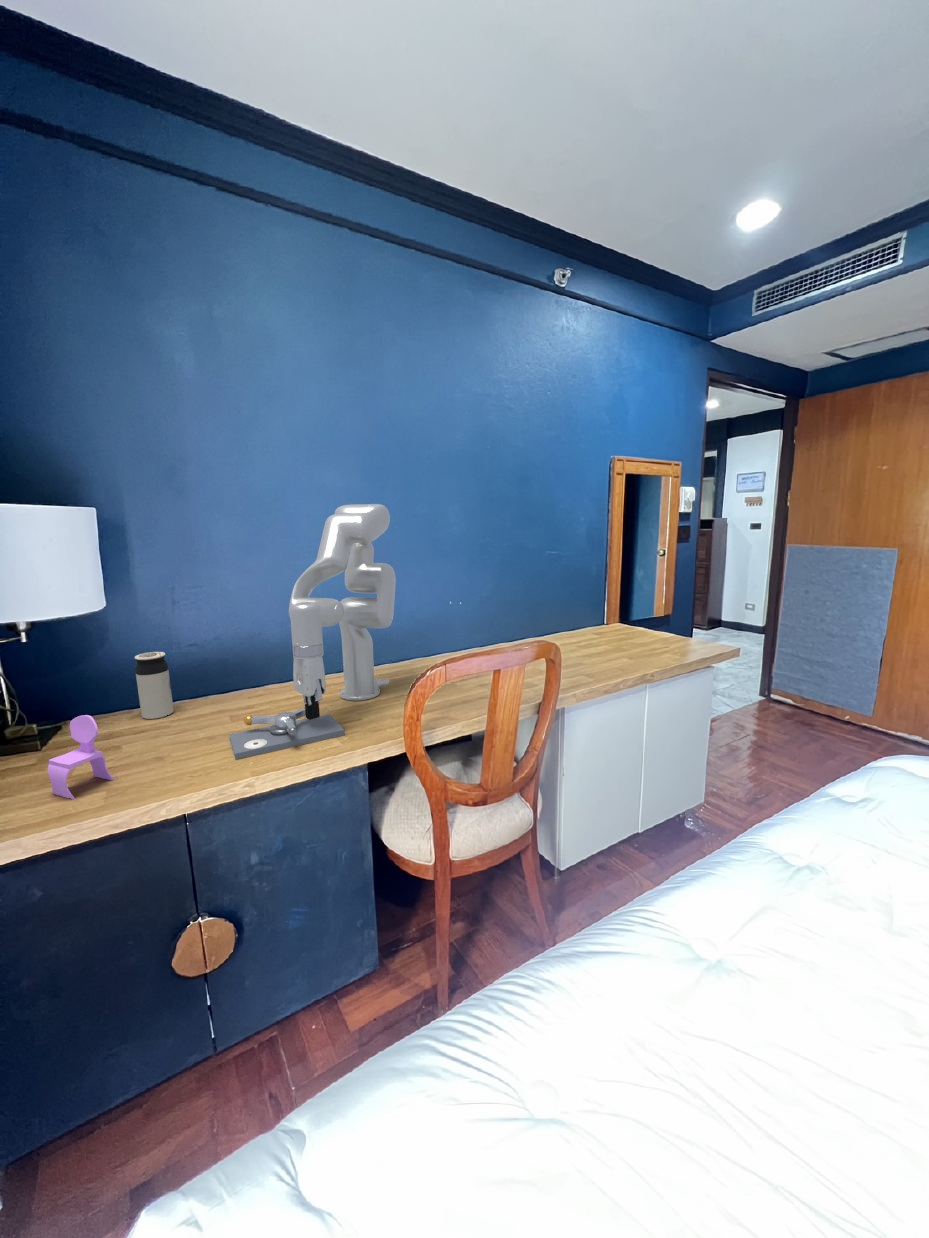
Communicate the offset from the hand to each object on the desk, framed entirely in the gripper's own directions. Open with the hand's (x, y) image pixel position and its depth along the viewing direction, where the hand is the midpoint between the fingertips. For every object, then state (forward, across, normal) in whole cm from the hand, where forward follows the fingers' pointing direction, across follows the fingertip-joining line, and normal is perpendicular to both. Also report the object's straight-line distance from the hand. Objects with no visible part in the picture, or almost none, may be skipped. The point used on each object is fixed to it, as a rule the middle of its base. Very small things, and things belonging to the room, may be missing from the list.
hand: (312, 717), depth 131 cm
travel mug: (+4, -43, -28) cm, 51 cm away
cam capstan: (+2, -3, -9) cm, 9 cm away
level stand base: (+4, -1, -7) cm, 8 cm away
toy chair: (+4, -6, -49) cm, 49 cm away
